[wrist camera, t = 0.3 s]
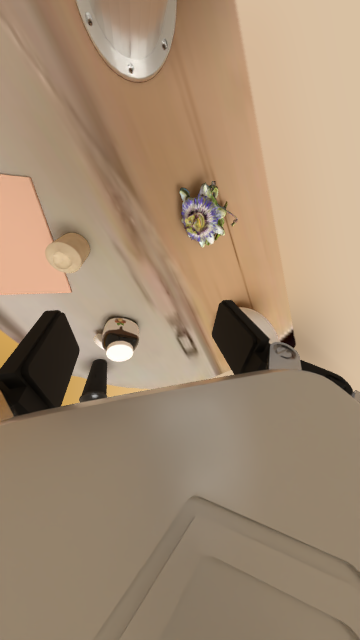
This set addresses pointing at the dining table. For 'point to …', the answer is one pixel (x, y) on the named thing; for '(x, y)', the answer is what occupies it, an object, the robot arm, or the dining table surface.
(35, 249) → the mat
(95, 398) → the drinking cup
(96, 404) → the robot arm
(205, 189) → the passion flower
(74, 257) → the candle
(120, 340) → the spread jar
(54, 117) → the dining table surface
